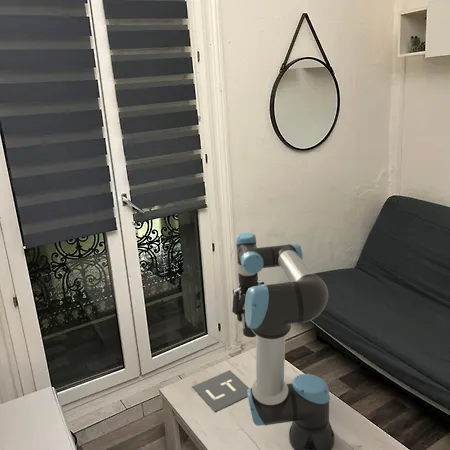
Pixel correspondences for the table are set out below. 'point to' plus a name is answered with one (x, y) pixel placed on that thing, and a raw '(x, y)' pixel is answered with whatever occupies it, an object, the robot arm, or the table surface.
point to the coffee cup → (246, 331)
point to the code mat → (222, 390)
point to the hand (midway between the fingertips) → (250, 323)
